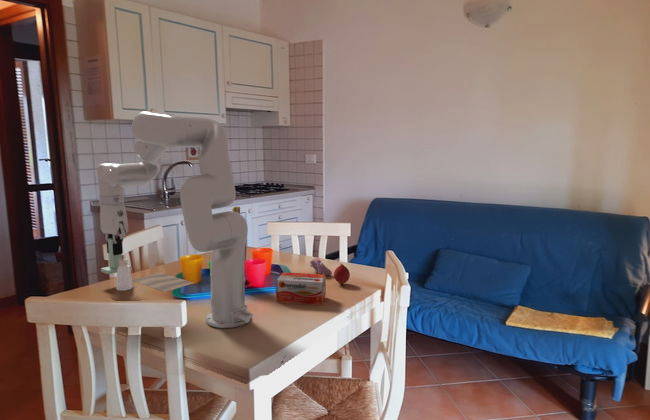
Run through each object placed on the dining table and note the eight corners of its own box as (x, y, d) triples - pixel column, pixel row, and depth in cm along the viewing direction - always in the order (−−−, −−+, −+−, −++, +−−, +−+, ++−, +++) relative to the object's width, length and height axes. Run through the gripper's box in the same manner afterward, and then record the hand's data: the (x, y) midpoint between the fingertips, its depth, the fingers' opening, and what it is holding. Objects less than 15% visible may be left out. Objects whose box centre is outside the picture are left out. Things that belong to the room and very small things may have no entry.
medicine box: (275, 302, 144) (275, 279, 143) (281, 294, 152) (281, 271, 151) (322, 306, 142) (322, 281, 141) (325, 297, 150) (326, 274, 149)
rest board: (194, 285, 159) (194, 283, 158) (164, 294, 149) (164, 291, 149) (160, 274, 170) (160, 272, 170) (131, 282, 161) (131, 280, 160)
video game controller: (313, 274, 180) (306, 259, 178) (322, 268, 181) (315, 253, 179) (323, 281, 171) (316, 266, 169) (333, 274, 173) (326, 259, 170)
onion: (349, 282, 165) (350, 261, 164) (349, 287, 160) (349, 265, 158) (334, 281, 166) (334, 260, 165) (332, 286, 160) (333, 265, 159)
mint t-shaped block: (131, 269, 156) (129, 237, 154) (108, 274, 150) (106, 241, 148) (123, 266, 159) (121, 235, 157) (101, 271, 152) (98, 239, 151)
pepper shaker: (112, 291, 151) (110, 260, 149) (126, 287, 156) (124, 256, 154) (123, 294, 149) (121, 262, 147) (136, 289, 153) (135, 258, 152)
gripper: (135, 201, 149) (138, 255, 151) (109, 197, 158) (112, 247, 161) (114, 203, 143) (117, 259, 145) (88, 199, 152) (91, 251, 155)
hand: (115, 253), depth 153 cm, fingers closed on mint t-shaped block, 3 cm apart
